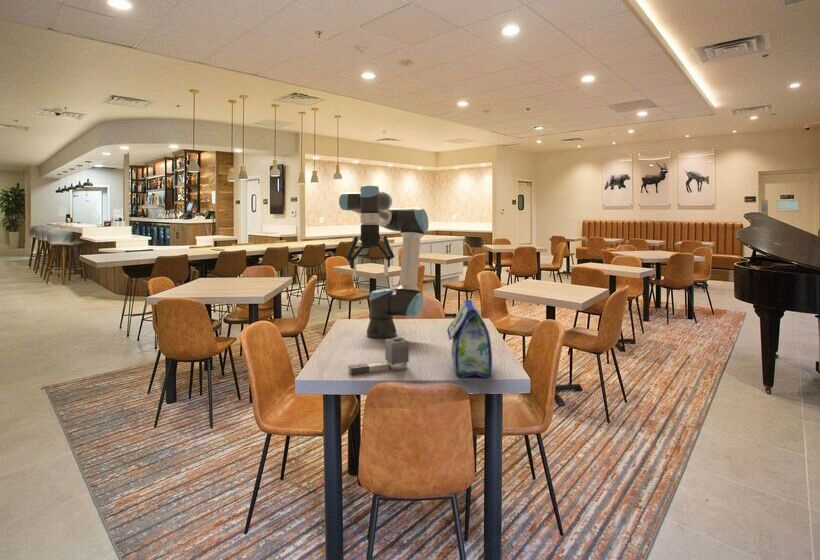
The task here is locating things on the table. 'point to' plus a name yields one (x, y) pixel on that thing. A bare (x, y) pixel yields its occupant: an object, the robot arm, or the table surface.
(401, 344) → the grey square block
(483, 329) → the lunch bag
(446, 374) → the table surface
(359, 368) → the chrome ball-end bar
